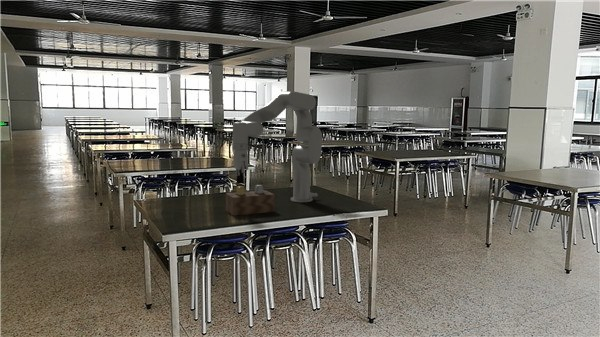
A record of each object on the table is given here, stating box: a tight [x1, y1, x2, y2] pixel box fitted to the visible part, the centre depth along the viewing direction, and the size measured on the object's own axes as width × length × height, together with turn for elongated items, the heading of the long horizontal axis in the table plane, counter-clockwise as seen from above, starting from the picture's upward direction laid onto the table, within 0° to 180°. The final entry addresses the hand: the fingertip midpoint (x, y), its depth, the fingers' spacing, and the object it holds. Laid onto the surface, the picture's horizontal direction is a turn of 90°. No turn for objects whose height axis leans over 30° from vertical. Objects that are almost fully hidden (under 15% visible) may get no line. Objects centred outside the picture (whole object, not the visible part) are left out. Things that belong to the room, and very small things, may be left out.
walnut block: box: [225, 189, 275, 216], centre depth 234 cm, size 22×12×9 cm, turn 116°
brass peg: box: [236, 185, 245, 196], centre depth 232 cm, size 4×4×8 cm
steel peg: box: [254, 184, 264, 194], centre depth 236 cm, size 4×4×8 cm
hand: (240, 183), depth 230 cm, fingers closed
